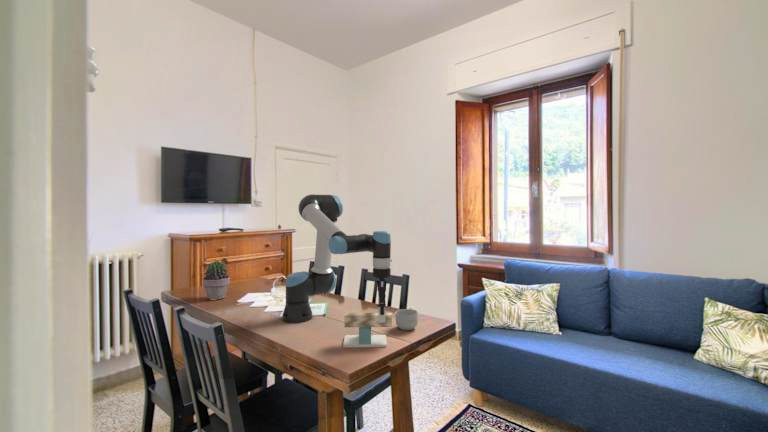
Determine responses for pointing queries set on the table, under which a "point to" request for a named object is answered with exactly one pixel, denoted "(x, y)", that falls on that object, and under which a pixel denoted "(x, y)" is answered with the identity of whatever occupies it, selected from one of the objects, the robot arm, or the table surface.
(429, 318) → the table surface
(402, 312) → the teacup
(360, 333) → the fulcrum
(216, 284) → the potted plant
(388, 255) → the robot arm
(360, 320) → the beige mottled long block
